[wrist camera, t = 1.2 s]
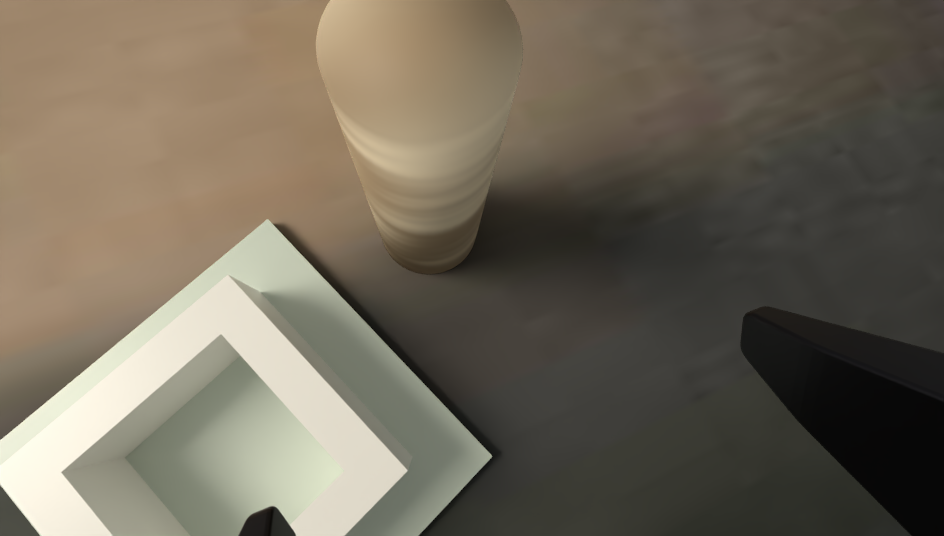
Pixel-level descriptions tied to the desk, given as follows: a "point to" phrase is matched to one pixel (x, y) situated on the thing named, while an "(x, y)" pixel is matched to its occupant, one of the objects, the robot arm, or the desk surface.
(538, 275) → the desk surface
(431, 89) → the peg
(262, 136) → the desk surface
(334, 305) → the socket
